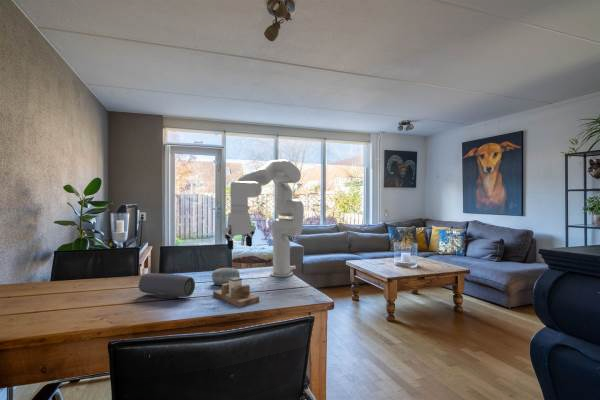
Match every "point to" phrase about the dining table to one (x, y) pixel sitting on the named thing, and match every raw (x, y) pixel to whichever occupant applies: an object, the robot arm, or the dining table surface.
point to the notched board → (236, 295)
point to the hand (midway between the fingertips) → (239, 247)
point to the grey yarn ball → (224, 275)
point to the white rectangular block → (234, 283)
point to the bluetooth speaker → (167, 285)
